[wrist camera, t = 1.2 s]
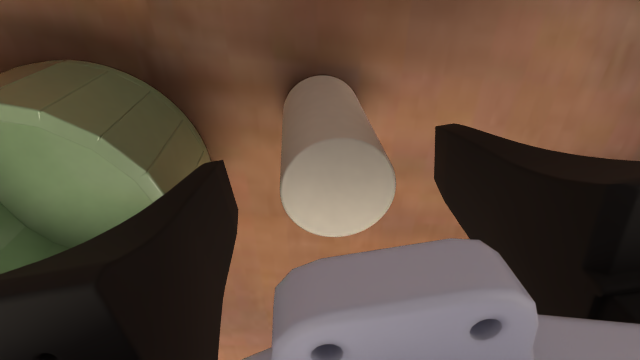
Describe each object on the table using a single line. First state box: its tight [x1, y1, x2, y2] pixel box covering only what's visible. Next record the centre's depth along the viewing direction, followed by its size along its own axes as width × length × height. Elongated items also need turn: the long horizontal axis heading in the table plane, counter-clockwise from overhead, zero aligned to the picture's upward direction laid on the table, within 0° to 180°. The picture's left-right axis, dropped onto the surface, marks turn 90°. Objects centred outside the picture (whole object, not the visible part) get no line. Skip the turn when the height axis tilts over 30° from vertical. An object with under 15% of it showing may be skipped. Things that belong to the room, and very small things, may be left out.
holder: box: [0, 60, 211, 274], centre depth 16 cm, size 11×11×6 cm
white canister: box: [280, 75, 396, 237], centre depth 14 cm, size 4×4×7 cm
